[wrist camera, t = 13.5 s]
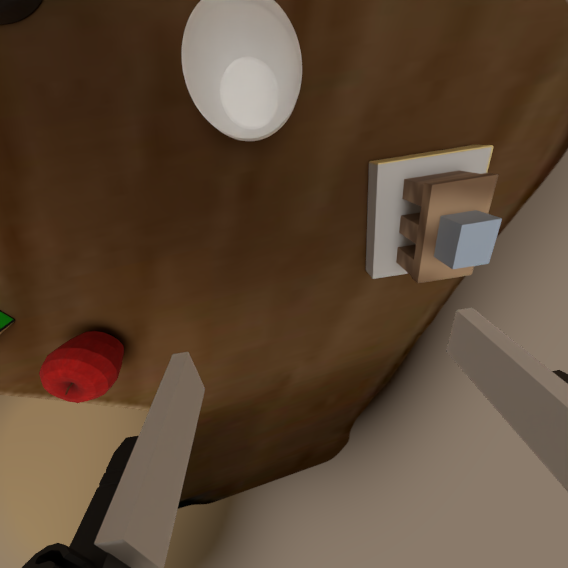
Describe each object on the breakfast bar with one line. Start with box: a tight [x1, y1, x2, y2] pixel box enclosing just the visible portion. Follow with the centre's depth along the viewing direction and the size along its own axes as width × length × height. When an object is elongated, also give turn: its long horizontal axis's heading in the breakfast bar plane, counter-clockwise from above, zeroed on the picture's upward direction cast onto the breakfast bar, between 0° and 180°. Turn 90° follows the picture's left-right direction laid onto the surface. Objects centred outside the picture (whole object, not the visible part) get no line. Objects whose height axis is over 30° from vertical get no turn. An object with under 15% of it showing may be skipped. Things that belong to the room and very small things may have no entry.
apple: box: [39, 331, 124, 403], centre depth 40 cm, size 10×10×11 cm
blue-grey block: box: [434, 210, 502, 269], centre depth 28 cm, size 5×4×4 cm
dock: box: [366, 145, 494, 279], centre depth 36 cm, size 16×14×3 cm
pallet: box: [396, 170, 499, 283], centre depth 32 cm, size 12×7×6 cm, turn 8°
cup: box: [182, 0, 302, 141], centre depth 24 cm, size 9×9×12 cm
